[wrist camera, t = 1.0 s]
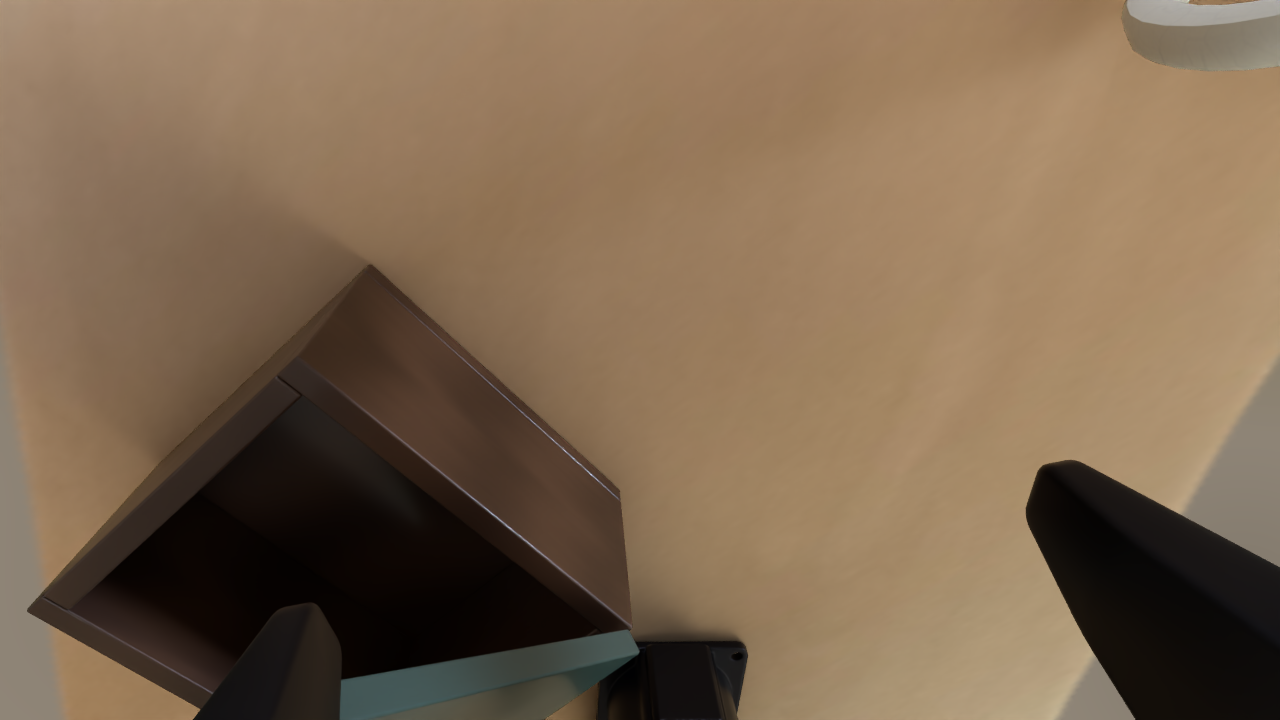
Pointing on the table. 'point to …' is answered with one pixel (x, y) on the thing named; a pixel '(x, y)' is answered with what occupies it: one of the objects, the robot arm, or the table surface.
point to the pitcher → (1205, 34)
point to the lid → (489, 683)
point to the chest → (353, 515)
